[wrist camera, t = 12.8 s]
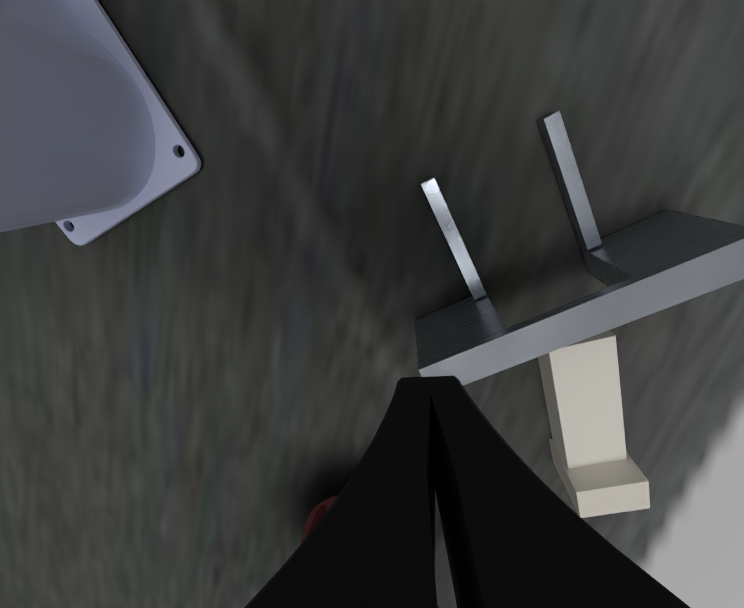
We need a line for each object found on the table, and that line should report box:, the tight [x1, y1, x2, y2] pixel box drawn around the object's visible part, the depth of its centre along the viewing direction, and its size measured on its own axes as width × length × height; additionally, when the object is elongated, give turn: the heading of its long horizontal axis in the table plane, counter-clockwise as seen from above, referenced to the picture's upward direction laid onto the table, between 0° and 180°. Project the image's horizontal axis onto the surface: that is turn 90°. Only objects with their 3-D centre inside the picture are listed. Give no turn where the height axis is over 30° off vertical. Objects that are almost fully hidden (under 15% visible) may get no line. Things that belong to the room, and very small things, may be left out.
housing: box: [415, 111, 744, 385], centre depth 14 cm, size 7×12×5 cm, turn 118°
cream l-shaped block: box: [538, 330, 650, 518], centre depth 18 cm, size 10×3×4 cm, turn 18°
